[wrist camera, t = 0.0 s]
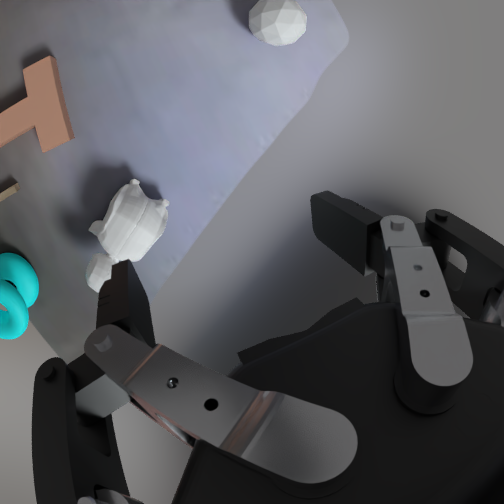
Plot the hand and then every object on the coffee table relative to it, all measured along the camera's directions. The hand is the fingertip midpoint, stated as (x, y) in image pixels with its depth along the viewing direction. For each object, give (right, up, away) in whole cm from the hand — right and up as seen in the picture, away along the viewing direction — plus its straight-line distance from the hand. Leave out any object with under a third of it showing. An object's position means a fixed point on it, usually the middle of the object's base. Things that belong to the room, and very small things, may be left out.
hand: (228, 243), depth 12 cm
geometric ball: (+3, +32, +20) cm, 38 cm away
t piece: (-29, +17, +14) cm, 36 cm away
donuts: (-37, -4, +22) cm, 43 cm away
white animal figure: (-18, +3, +27) cm, 32 cm away
